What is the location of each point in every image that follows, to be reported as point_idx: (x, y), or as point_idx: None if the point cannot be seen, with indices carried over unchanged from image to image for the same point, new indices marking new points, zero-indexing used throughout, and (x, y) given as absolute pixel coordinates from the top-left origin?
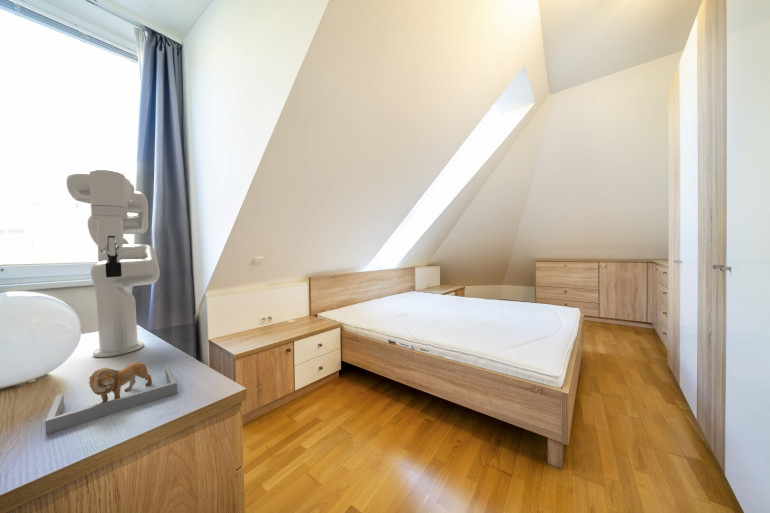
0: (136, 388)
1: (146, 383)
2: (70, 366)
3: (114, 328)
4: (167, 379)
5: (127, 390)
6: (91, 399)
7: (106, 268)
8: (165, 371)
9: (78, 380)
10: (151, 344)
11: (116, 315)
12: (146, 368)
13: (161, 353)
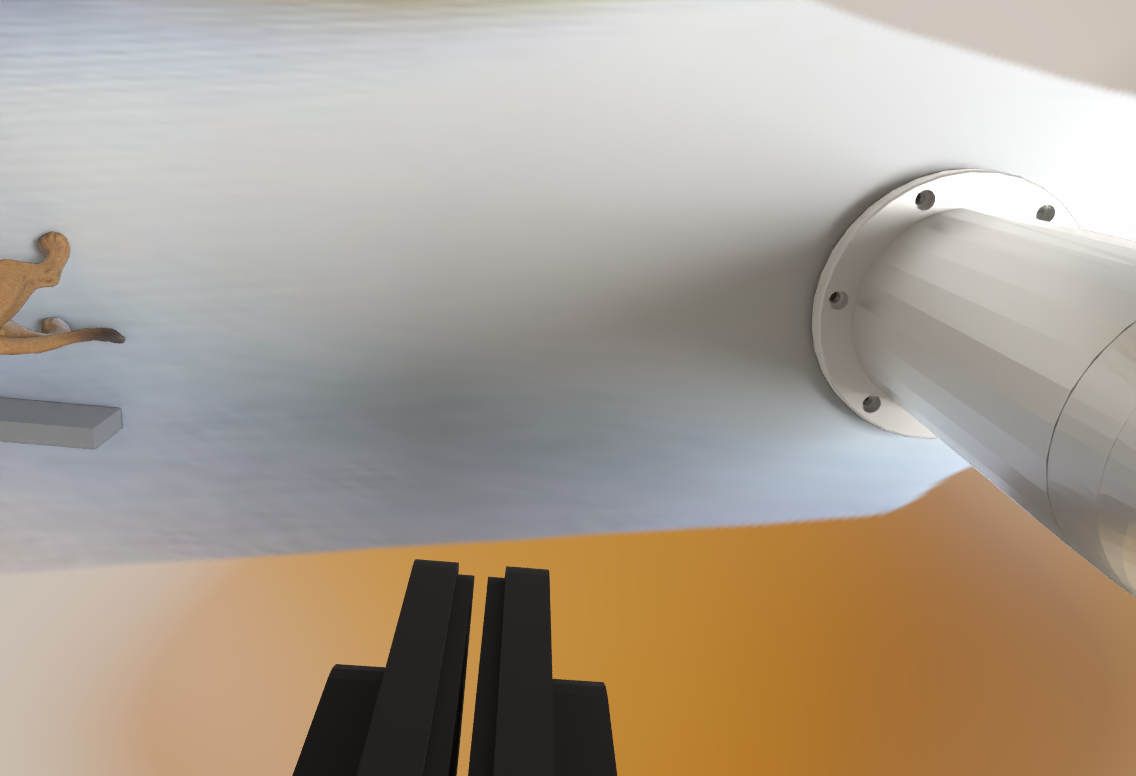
0: None
1: (45, 323)
2: (856, 40)
3: (945, 330)
4: (18, 405)
5: (39, 242)
6: (63, 97)
7: (373, 717)
8: (97, 420)
9: (475, 64)
10: (890, 467)
11: (1006, 388)
12: (22, 353)
13: (604, 471)
